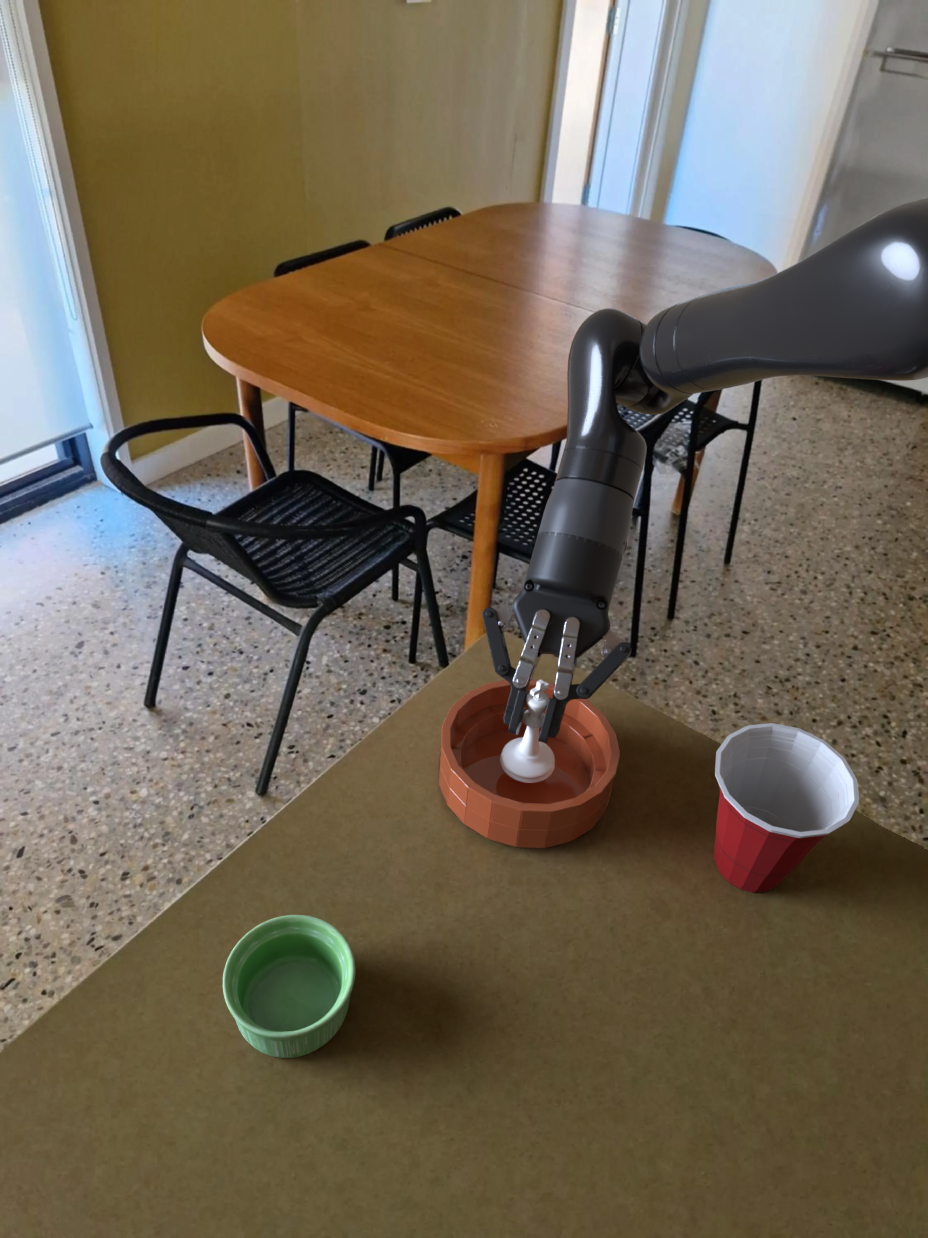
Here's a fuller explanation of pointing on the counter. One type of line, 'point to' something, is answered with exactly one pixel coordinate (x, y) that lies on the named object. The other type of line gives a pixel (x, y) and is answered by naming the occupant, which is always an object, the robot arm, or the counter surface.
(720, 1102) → the counter surface
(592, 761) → the bowl
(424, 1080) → the counter surface
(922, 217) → the robot arm
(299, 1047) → the ramekin
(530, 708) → the chess piece
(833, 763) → the plastic cup
